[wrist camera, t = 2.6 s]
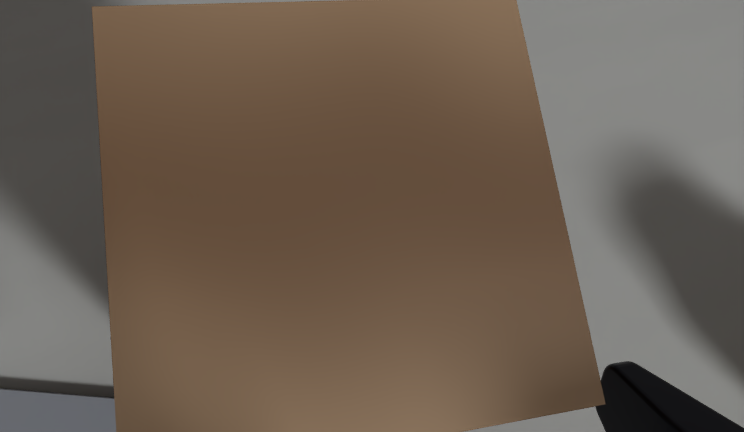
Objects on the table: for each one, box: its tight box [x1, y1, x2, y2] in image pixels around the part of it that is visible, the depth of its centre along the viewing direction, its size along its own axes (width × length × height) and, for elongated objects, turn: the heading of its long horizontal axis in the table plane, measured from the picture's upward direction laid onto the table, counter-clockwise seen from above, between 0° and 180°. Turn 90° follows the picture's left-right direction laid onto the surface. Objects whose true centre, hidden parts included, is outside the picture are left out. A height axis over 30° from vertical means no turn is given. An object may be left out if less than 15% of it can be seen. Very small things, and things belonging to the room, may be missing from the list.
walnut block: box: [92, 0, 605, 432], centre depth 13 cm, size 5×5×13 cm
